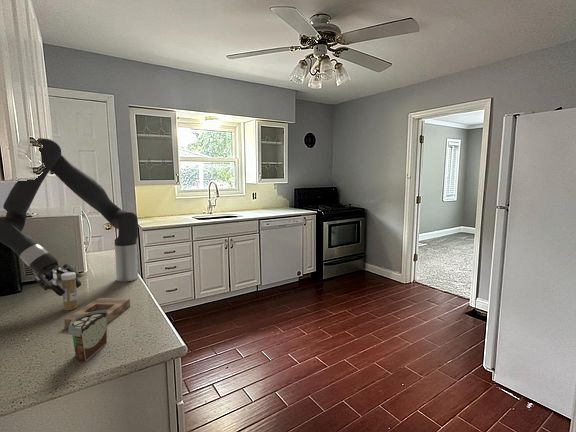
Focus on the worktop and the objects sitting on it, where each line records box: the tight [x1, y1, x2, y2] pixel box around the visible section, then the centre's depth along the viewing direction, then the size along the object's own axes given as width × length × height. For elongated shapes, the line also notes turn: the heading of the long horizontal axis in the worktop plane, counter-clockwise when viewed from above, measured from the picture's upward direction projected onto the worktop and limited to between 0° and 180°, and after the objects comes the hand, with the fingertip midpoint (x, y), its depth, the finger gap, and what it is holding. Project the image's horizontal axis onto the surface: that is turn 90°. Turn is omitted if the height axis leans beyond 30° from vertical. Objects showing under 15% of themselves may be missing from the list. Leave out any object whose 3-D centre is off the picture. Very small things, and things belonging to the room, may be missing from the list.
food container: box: [68, 310, 109, 363], centre depth 87 cm, size 12×6×10 cm, turn 178°
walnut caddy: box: [63, 297, 131, 329], centre depth 110 cm, size 18×12×3 cm, turn 179°
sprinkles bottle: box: [60, 272, 79, 311], centre depth 115 cm, size 5×5×13 cm
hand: (71, 290), depth 115 cm, fingers open, 8 cm apart
